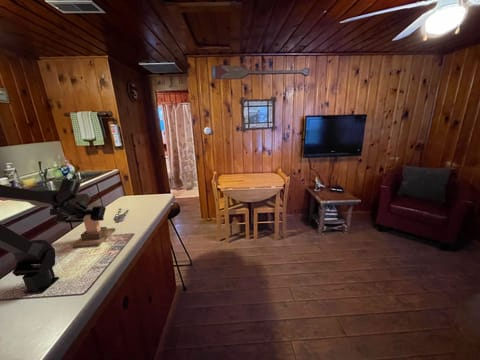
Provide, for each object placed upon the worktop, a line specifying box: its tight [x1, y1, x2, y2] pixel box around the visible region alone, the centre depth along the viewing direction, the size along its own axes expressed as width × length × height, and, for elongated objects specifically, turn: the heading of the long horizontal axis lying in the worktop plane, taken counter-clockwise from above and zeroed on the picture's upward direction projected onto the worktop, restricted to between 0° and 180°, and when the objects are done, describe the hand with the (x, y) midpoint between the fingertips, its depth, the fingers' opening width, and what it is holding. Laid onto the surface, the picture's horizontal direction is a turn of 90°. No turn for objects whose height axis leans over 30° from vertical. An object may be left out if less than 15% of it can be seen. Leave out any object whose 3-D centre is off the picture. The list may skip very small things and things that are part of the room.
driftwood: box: [113, 208, 129, 224], centre depth 120 cm, size 21×7×2 cm, turn 17°
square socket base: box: [72, 226, 116, 249], centre depth 95 cm, size 14×11×4 cm
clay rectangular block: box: [83, 215, 102, 233], centre depth 94 cm, size 2×5×12 cm, turn 94°
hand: (93, 220), depth 95 cm, fingers open, 9 cm apart
